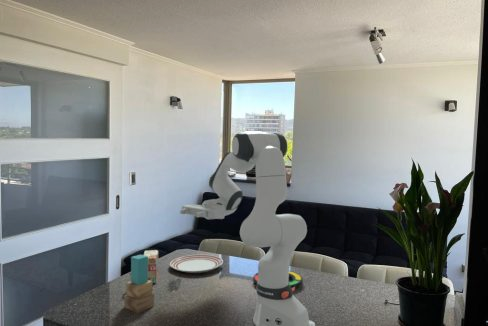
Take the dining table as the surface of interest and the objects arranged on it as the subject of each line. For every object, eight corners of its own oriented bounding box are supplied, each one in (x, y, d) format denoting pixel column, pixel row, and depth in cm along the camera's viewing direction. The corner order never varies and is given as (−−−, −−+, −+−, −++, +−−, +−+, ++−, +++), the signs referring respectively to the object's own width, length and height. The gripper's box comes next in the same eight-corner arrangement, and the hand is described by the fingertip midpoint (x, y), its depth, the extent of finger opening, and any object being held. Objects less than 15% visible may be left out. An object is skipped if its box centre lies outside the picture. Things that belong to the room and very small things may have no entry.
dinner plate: (164, 276, 182) (164, 269, 182) (176, 259, 209) (176, 253, 209) (220, 277, 181) (220, 270, 181) (225, 260, 208) (225, 254, 208)
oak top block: (152, 293, 148) (152, 281, 148) (138, 299, 143) (138, 286, 142) (141, 289, 152) (141, 277, 152) (126, 295, 147) (126, 282, 146)
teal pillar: (147, 281, 148) (147, 256, 147) (138, 284, 144) (138, 259, 144) (140, 279, 150) (140, 254, 150) (131, 282, 147) (131, 256, 146)
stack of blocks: (146, 269, 192) (146, 245, 191) (158, 268, 193) (158, 244, 192) (142, 284, 171) (142, 258, 170) (156, 283, 172) (156, 257, 171)
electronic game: (307, 279, 180) (308, 269, 180) (295, 297, 159) (295, 286, 159) (263, 272, 189) (263, 263, 189) (245, 288, 168) (245, 278, 168)
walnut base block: (154, 306, 149) (154, 293, 148) (137, 313, 142) (137, 300, 142) (140, 301, 153) (140, 288, 153) (124, 307, 147) (124, 295, 147)
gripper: (194, 200, 179) (172, 203, 168) (227, 205, 167) (206, 209, 156) (194, 213, 180) (172, 217, 169) (227, 219, 167) (206, 224, 156)
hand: (188, 213), depth 162 cm, fingers open, 8 cm apart
